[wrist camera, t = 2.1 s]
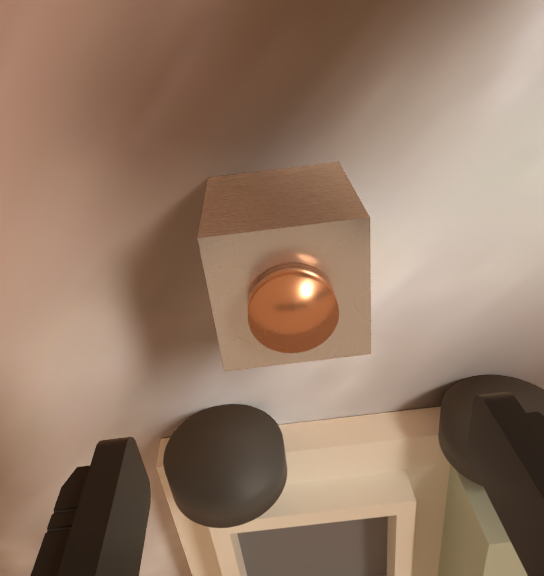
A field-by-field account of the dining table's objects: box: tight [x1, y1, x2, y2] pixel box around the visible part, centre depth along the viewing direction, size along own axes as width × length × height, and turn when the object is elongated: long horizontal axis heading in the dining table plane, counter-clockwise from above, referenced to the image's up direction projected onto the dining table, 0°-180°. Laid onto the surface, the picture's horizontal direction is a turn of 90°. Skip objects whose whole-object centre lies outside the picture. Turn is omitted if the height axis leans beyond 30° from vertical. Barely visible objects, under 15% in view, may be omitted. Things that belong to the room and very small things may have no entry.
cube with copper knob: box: [197, 162, 371, 371], centre depth 19 cm, size 6×6×7 cm
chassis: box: [156, 375, 544, 576], centre depth 30 cm, size 22×20×7 cm
